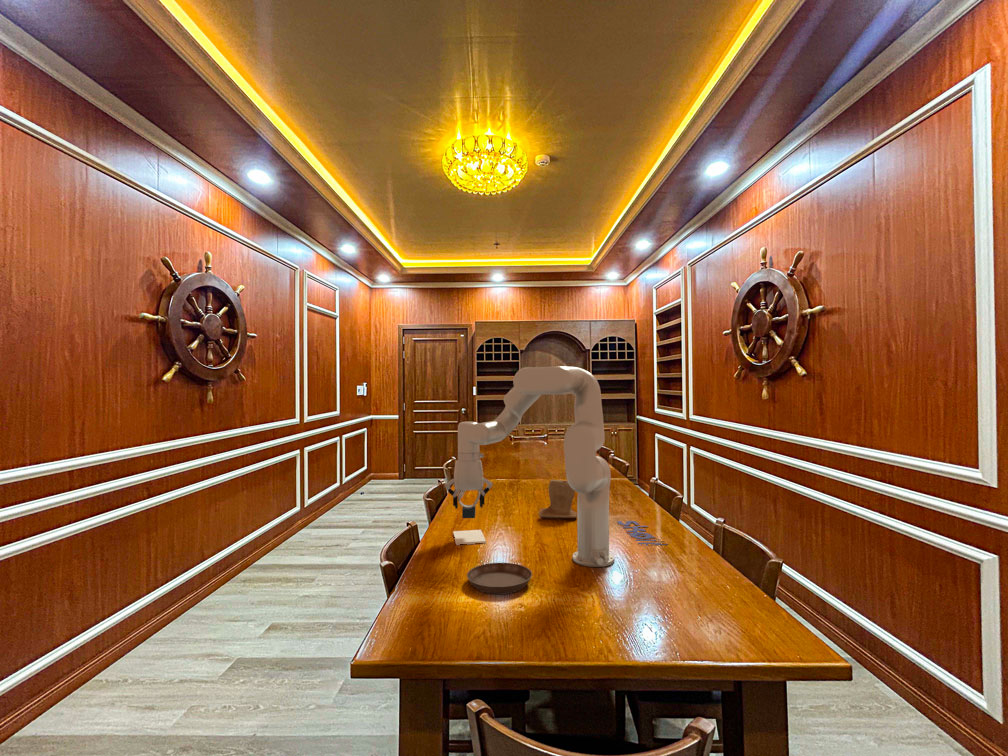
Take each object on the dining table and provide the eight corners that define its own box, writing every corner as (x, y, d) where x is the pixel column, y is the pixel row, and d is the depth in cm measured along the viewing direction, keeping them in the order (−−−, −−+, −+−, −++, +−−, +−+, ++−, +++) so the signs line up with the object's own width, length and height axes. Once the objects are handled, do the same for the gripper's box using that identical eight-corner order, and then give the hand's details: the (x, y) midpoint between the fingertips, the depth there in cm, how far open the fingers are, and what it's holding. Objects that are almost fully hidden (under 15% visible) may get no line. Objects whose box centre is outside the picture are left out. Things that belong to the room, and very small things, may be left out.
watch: (457, 514, 179) (457, 482, 179) (480, 513, 179) (480, 482, 179) (456, 518, 173) (456, 486, 173) (480, 518, 174) (479, 486, 174)
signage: (615, 520, 196) (640, 520, 196) (615, 522, 196) (640, 522, 196) (638, 544, 168) (668, 543, 168) (638, 546, 168) (668, 545, 168)
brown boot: (576, 513, 208) (575, 477, 208) (577, 521, 196) (577, 483, 196) (539, 513, 210) (539, 476, 210) (538, 520, 198) (538, 482, 198)
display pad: (485, 543, 171) (485, 540, 171) (456, 545, 169) (456, 542, 169) (480, 531, 183) (480, 529, 183) (453, 533, 182) (453, 531, 182)
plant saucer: (459, 577, 142) (459, 566, 142) (517, 568, 148) (517, 558, 148) (478, 603, 126) (478, 590, 126) (543, 592, 132) (543, 580, 132)
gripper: (491, 454, 182) (491, 503, 181) (443, 456, 178) (443, 505, 178) (495, 458, 174) (495, 508, 174) (444, 459, 171) (444, 511, 171)
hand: (468, 507), depth 176 cm, fingers closed on watch, 8 cm apart
